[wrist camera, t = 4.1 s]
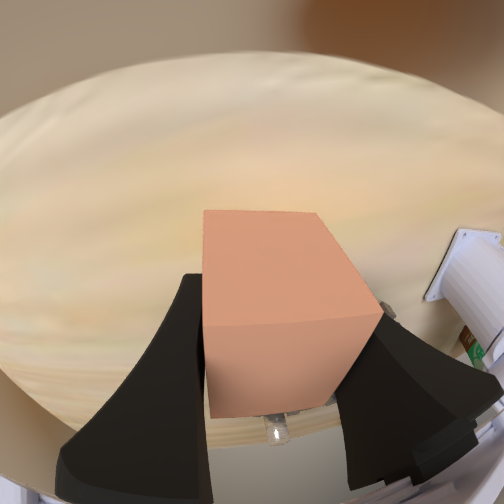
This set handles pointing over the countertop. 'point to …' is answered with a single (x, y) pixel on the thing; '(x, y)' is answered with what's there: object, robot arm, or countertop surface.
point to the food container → (472, 348)
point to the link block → (278, 312)
